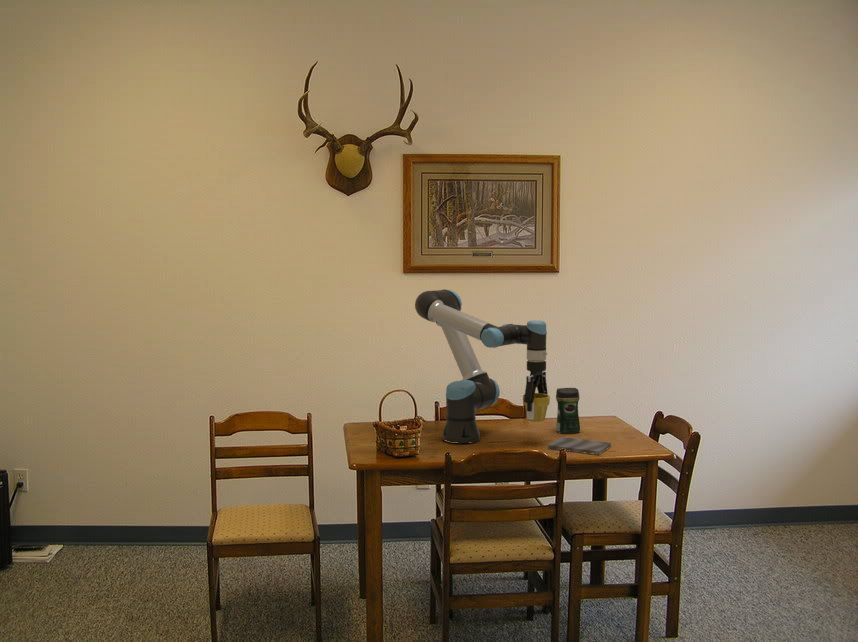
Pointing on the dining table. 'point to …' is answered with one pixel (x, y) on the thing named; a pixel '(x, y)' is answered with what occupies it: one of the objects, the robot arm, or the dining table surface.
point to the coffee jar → (567, 410)
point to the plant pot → (539, 406)
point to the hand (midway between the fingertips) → (535, 416)
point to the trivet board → (579, 445)
